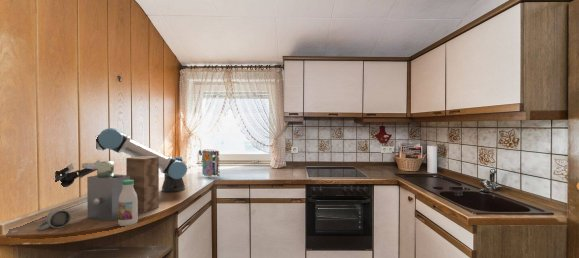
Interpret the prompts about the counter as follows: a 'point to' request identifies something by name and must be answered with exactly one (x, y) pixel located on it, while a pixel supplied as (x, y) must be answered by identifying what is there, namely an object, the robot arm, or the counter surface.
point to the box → (210, 163)
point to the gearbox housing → (104, 196)
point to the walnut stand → (145, 180)
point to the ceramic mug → (56, 219)
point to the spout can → (101, 168)
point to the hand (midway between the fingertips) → (87, 163)
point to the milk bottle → (127, 204)
